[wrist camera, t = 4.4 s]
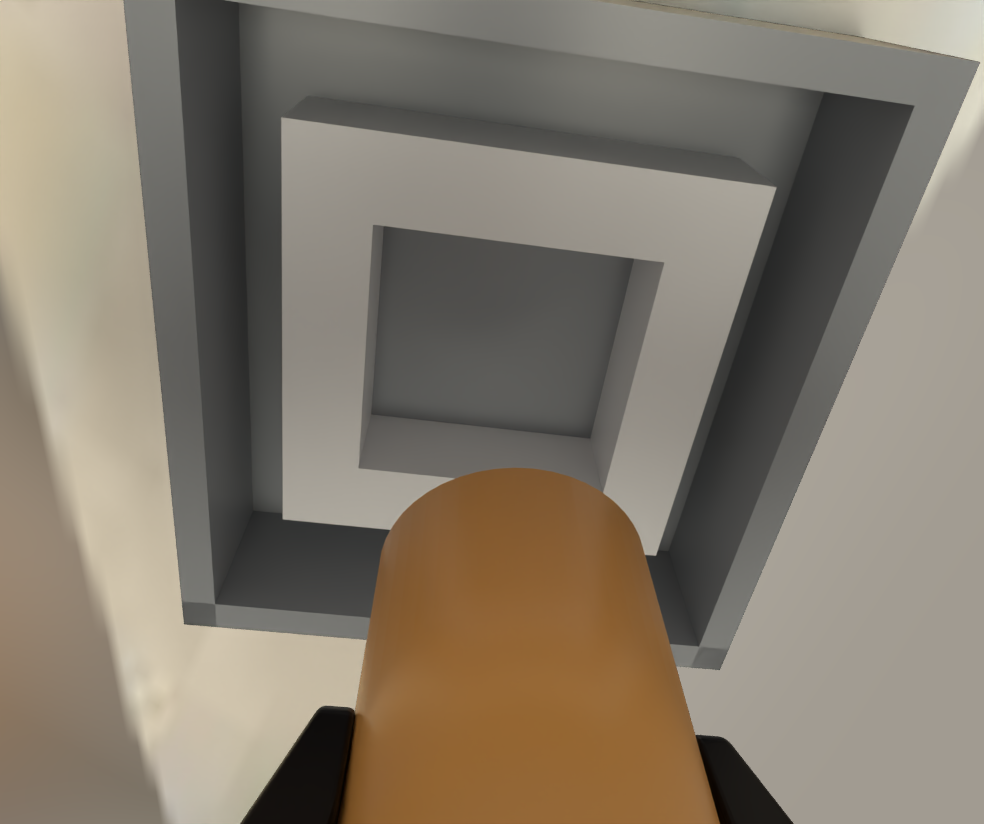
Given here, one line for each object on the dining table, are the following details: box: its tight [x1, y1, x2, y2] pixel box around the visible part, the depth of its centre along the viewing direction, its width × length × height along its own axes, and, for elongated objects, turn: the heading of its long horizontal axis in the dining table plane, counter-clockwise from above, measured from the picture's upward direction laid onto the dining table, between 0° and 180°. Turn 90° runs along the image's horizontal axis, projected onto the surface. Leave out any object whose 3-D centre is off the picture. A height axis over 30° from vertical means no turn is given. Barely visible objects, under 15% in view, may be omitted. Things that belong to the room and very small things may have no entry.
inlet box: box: [124, 0, 980, 670], centre depth 18 cm, size 15×14×4 cm
